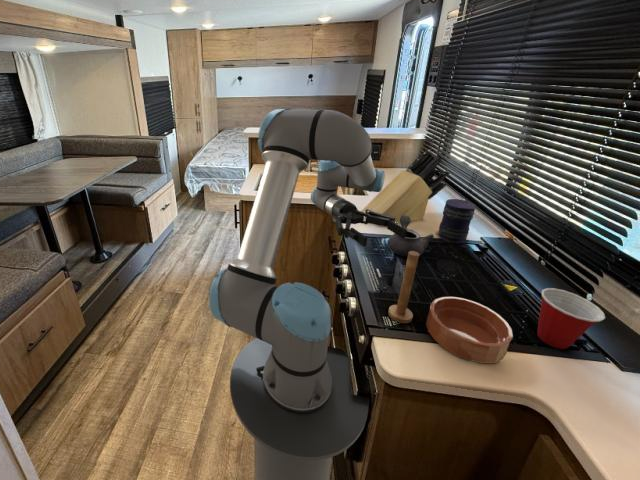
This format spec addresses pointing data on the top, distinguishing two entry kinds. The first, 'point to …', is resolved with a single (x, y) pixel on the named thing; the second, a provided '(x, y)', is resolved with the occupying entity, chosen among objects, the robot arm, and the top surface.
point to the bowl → (469, 329)
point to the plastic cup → (565, 317)
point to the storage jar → (456, 220)
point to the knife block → (410, 190)
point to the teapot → (408, 240)
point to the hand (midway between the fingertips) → (385, 238)
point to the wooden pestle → (405, 291)
